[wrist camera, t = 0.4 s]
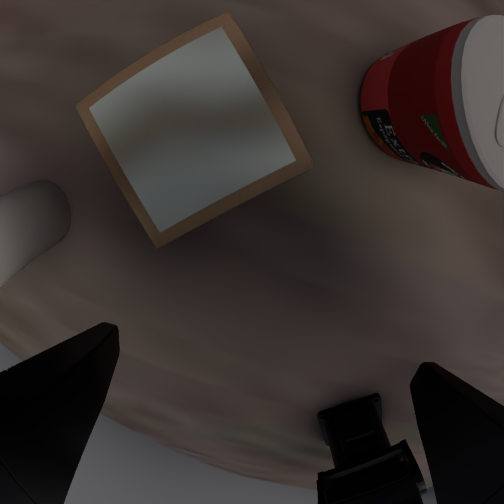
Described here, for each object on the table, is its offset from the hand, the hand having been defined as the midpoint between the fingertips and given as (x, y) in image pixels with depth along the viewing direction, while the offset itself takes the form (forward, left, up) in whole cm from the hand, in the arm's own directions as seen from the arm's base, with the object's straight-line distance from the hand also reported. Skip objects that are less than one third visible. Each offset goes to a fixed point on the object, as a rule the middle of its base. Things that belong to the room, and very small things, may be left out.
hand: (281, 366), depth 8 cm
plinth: (+7, +2, -13) cm, 15 cm away
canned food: (+5, -12, -14) cm, 19 cm away
